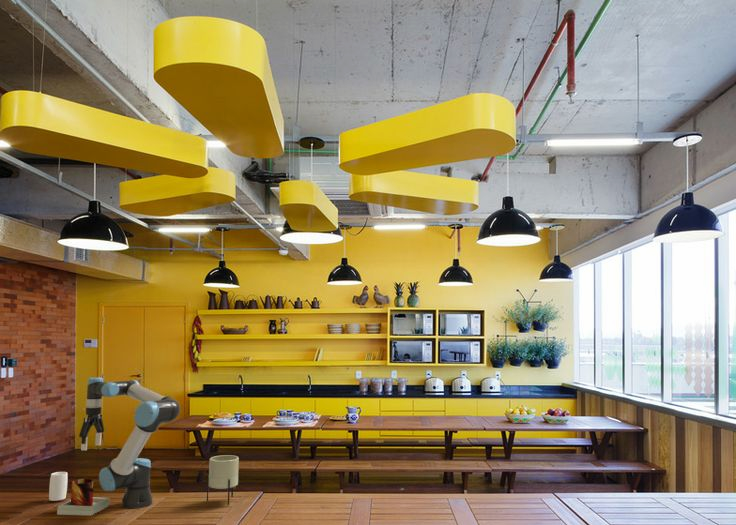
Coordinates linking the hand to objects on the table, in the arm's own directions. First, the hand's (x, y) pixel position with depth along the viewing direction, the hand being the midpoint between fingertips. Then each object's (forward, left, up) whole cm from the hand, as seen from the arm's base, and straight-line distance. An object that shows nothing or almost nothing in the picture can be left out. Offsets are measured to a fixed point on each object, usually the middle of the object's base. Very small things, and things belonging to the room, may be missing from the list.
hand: (91, 447), depth 300 cm
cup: (+19, -4, -29) cm, 35 cm away
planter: (-70, -9, -29) cm, 76 cm away
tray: (-4, +10, -29) cm, 31 cm away
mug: (-5, +10, -27) cm, 29 cm away
